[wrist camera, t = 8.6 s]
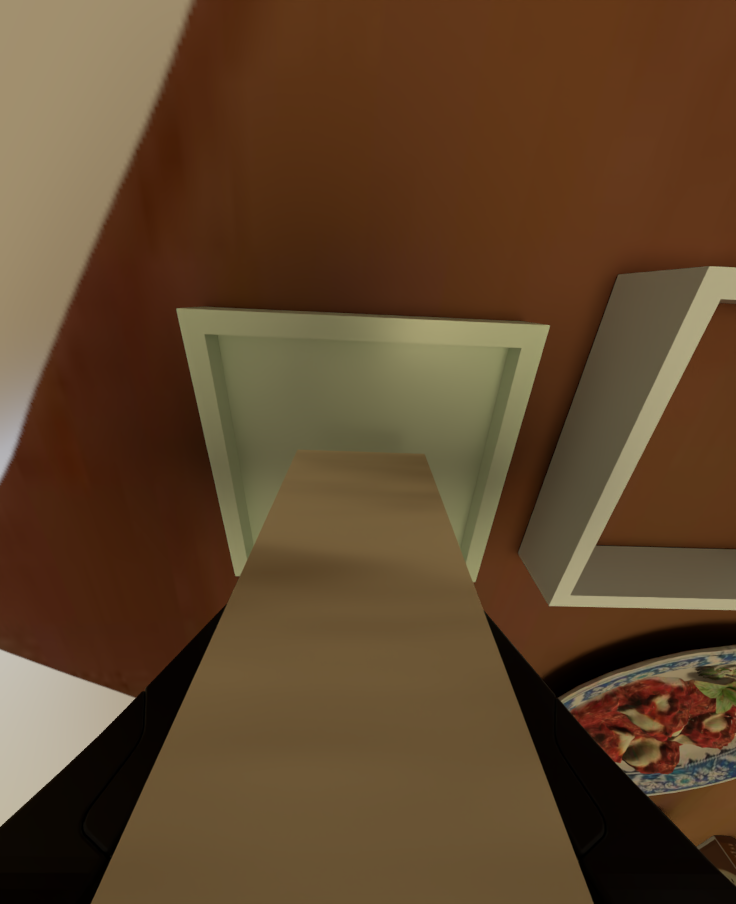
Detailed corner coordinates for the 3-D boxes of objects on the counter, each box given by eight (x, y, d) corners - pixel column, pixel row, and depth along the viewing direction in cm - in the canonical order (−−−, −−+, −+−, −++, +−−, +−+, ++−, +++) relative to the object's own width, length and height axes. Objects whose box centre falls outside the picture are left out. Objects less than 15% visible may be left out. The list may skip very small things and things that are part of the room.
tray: (464, 554, 18) (475, 582, 17) (248, 548, 18) (235, 576, 16) (523, 321, 12) (550, 325, 11) (203, 306, 12) (176, 308, 10)
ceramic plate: (615, 785, 36) (635, 825, 33) (448, 727, 29) (456, 771, 26) (875, 687, 26) (933, 731, 23) (714, 566, 19) (769, 609, 17)
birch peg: (411, 548, 13) (514, 1120, 4) (304, 545, 13) (159, 1127, 4) (424, 453, 11) (703, 1196, 2) (297, 449, 11) (-51, 1215, 2)
